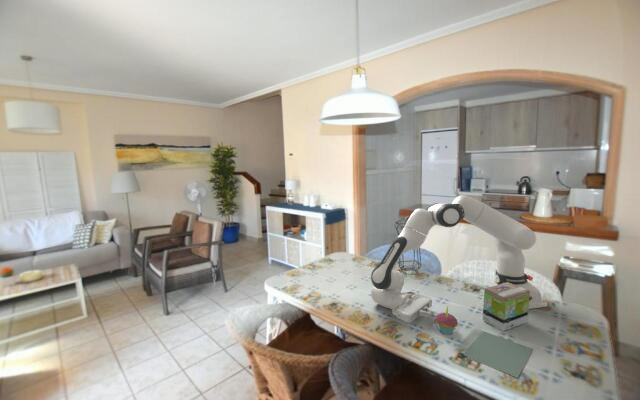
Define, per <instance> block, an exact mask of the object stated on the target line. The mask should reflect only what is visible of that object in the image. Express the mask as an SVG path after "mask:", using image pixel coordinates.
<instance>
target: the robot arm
mask: <svg viewBox="0 0 640 400" xmlns="http://www.w3.org/2000/svg"><path fill="white" fill-rule="evenodd" d="M409 216H410V218H409V219H408V221H406V223H405V224H406V225H405V224H404V226H403V227H404V228H402V229H403V230H402V229H401V232H399V234H398V235H399V236H398V235H397V237H396V238H395V239H394V240H393V242H392V243H391V244H390V247H389V248H388V249H387V251H386V252H385V255H384V256H383V257H382V259H381V261H380V262H379V264H377V265H376V266H375V267H374V269H372V271H371V274H370V280H371V283H372V286H373V287H372V289H371V292H370V294H371V295H370V296H371V299H372V301H373V302H375V304H377V305H380V306H381V307H384V308H386V309H391V310H392V311H391V313H392V314H393V315H394V316H396V318H398V319H399V320H401V321H403V322H405V323H408V324H410V323H412V322H413V321H415V320H416V319H417V318H419V317H428V318H432V317H433V316H434V314H435V313H434V310H431V309H430V308H431V307H432V306H433V300H432V298H431V297H429V296H427V295H424V294H421V293H416V291H414V290H411V291H408V292H402V290H403V286H404V284H405V277H404V274H403V272H401V271H399V270H397V269H394V268H395V266H396V265H397V264H398V263H399V262H398V261H399V259H400V260H401V258H402V255H403V256H404V254H405V253H408V252H409V251H414V250H417V249H418V250H419V247H420V248H421V246H423V244H424V242H425V241H426V239H427V237H428V235H429V233H430V230H431V229H433V227H435V226H439V227H444V228H453V227H456V226H458V224H459V223H460V222H461V221H462V220H464V221H466V222H467V223H469V224H471V225H473V226H474V227H476V228H479V230H481V231H483V232H485V233H487V234H488V235H489V236H492V237H493V238H494V244H495V249H496V269H495V274H494V281H495V282H494V283H495V284H494V286H496V285H499V284H503V283H506V282H509V283H512V284H514V285H517V286H519V287H522V288H524V289H527V290H530V296H529V307H528V310H531V309H538V308H546V307H548V302H547V301H546V300H545V299H544V298H543V297H542V293H541V291H540V289H538V288H537V287H536V286H535V285H533V284H532V283H530V282H529V281H533V280H534V277H533V276H531V275H529V274H527V273H525V264H526V263H525V262H526V261H525V260H526V258H525V255H524V254H523V250H529V249H531V248H533V247H534V245H535V244H536V242H537V236H536V234H535V232H534V231H533V230H532V229H531V228H529V227H528V226H527V225H525V224H523V223H521V222H519V221H518V220H516V219H514V218H512V217H510V216H509V215H506V214H504V213H502V212H500V211H498V210H496V209H495V208H493V207H491V206H489V205H488V204H486V203H484V202H482V201H480V200H478V199H477V198H474V197H471V196H468V195H466V194H460V195H458V196H456V197H455V198H454V199H453V201H452V202H451V203H447V202H437V203H433V204H432V205H429V207H427V208H426V209H425V208H416V209H414V211H412V213H411V214H410V215H409ZM406 226H407V227H406ZM408 227H409V228H408ZM412 229H413V230H412ZM415 230H416V231H415ZM397 262H398V263H397Z"/></svg>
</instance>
